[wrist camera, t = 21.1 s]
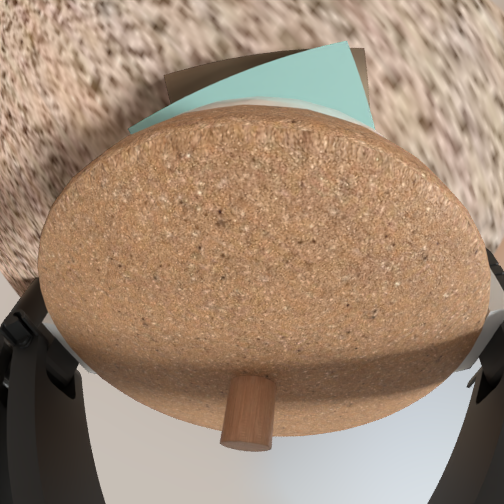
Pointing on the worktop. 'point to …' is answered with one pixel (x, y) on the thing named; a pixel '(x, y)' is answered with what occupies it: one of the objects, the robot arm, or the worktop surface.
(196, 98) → the teal brick
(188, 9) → the worktop surface
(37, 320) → the water bottle
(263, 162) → the lidded jar
